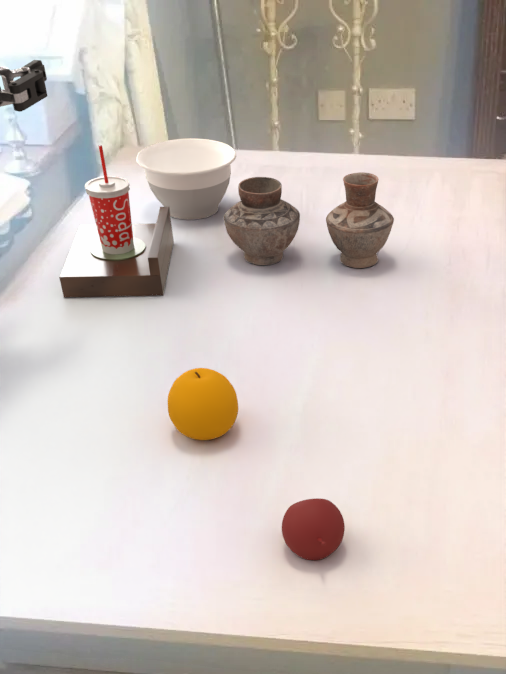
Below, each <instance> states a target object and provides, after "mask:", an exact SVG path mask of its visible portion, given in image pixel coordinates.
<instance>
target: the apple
mask: <svg viewBox="0 0 506 674" xmlns="http://www.w3.org/2000/svg"><path fill="white" fill-rule="evenodd" d="M167 413H168V417H169V419H170V421H171V423H172V424H173V426H174V427H175V429H176V430H177V431H178V432H179V434H182V435H183V436H185V437H186V438H189V439H191V440H192V439H193V440H195V441H209V440H214V439H218V438H220V437H222V436H223V435H225V434H226V433H228V432H229V431H230V430H231V429H232V428H233V426H234V425H235V423H236V420H237V417H238V414H239V401H238V396H237V391H236V389H235V387H234V385H233V384H232V383H231V382H230V380H229V379H228V378H227V377H226V376H225V375H224V374H222V373H220V372H219V371H217V370H215V369H211V368H207V367H196V368H191V369H189V370H186V371H184V372H182V373H181V375H179V376H178V377H176V378H175V380H174V381H173V383H172V385H171V387H170V389H169V390H168V395H167Z"/></svg>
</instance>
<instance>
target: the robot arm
mask: <svg viewBox="0 0 506 674" xmlns="http://www.w3.org/2000/svg"><path fill="white" fill-rule="evenodd" d="M0 77H1V80H2V84H3V89H2V88H1V86H0V108H1V107H5V106H9V105H12V106H13V111H15V112H19V113H20V112H23V111H26V110H27V109H29V108H31V107H32V106H34V105H36V104H37V103H39V102H40V101H42V100H43V99H46V98H47V97H48V92H47V86H46V81H47V80H48V79H47V78H48V77H47V72H46V68H45V64H43V61H42V60H41V59H32V61H30V62H28V63H27V64H25V65H23V66H22V67H19V68H15V69H10V68H8V67H6V66H0ZM15 78H17V79H16V80H14V79H15Z"/></svg>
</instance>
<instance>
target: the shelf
mask: <svg viewBox="0 0 506 674" xmlns="http://www.w3.org/2000/svg"><path fill="white" fill-rule="evenodd" d="M132 232H133V242H134V248H133V250H131V251H129V252H127V253H124V254H108V253H105V252H104V251H103V250H102V246H101V242H100V238H99V234H98V230H97V226H96V223H95V224H79V225H78V228H77V231H76V233H75V234H74V235H75V236H74V238H73V241H72V243H71V246H70V247H69V251H68V254H67V256H66V259H65V262H64V264H63V266H62V268H61V272H60V274H59V276H58V277H59V283H60V288H61V291H62V295H63V298H101V297H102V298H104V297H105V298H106V297H108V298H110V297H151V296H153V297H154V296H155V297H157V296H159V297H160V296H161V297H162V296H164V293H165V289H166V283H167V278H168V273H169V268H170V264H171V258H172V253H173V248H174V243H175V242H174V233H173V226H172V217H171V216H170V209H169V207H164V206H159V209H158V213H157V217H156V222H155V223H154V222H153V223H132Z"/></svg>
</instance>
